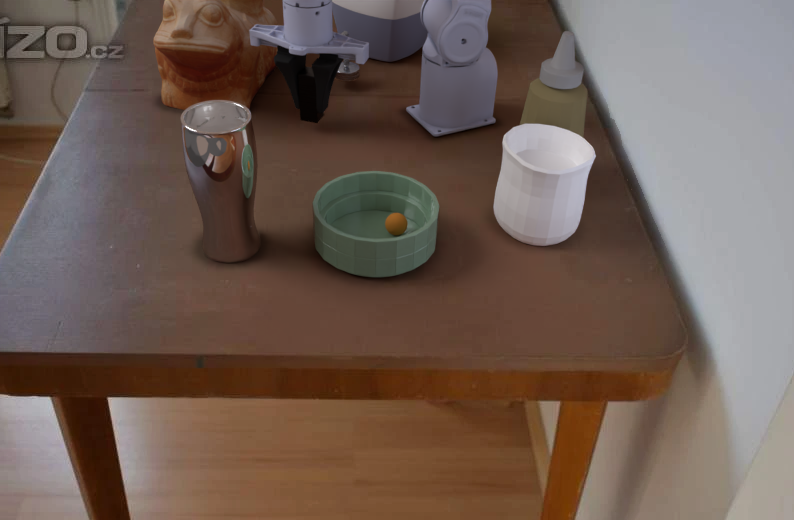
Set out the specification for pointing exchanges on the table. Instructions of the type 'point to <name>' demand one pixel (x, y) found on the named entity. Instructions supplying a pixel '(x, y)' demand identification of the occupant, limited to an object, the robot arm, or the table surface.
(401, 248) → the soup bowl
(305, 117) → the ladle
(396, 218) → the orange ball
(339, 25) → the grey and white container
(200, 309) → the table surface
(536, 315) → the table surface
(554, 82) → the squeeze bottle
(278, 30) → the robot arm
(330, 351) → the table surface
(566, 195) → the cup
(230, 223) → the beer glass
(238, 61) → the frog figurine
